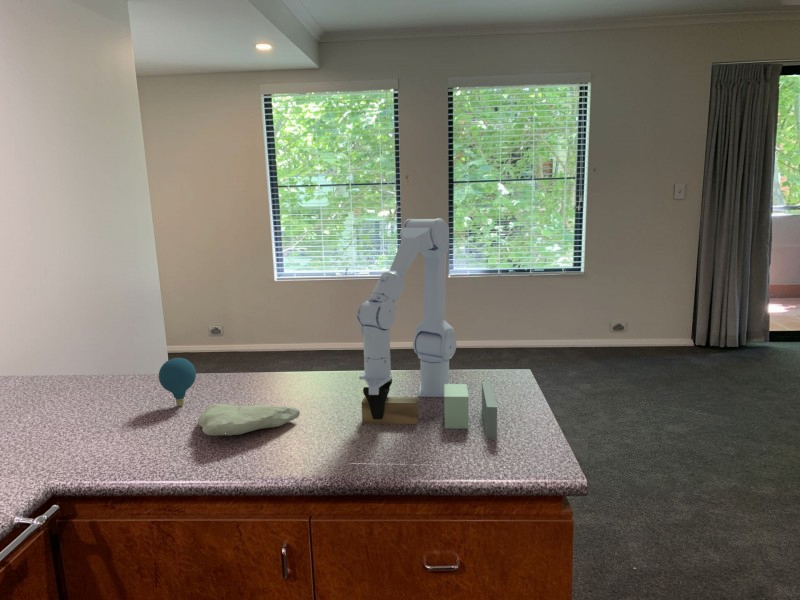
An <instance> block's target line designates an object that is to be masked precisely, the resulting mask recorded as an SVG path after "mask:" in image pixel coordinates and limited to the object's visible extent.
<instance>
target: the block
mask: <svg viewBox="0 0 800 600" xmlns="http://www.w3.org/2000/svg"><path fill="white" fill-rule="evenodd" d="M468 391H469V390H468V384H466V383H464V384H463V383H450V384H444V397H443V398H444V400H443V401H444V408H443V409H444V429H451V430H452V429H457V430H459V429H460V430H462V429H463V430H465V429H467V430H469V392H468Z"/></svg>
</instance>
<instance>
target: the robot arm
mask: <svg viewBox="0 0 800 600" xmlns="http://www.w3.org/2000/svg"><path fill="white" fill-rule="evenodd" d="M399 235H400V240H401V241H400V244H399V246H398V249H397V252H396V254H395V256H394V258H393V261H392V264H391V266H390V268H389V270H388V271H385V272H382V273H381V275H380V277H379V279H378V281H377V283H376V284H375V287H374V288H373V290H372V292H371V293H370V294H371V295H370V296H369V298H368V300H366V301H364V302H363V303H362V304H361V305H359V308H358V310H357V314H356V315H355V316H356V321H357V323H358V325H359V326H360V333H361V334H362V335H363V336H362V337H363V341H362V342H363V356H364V357H363V364H364V365H363V367H364V373H360V374H359V376H358V378H359V380H363V381H364V382H365V383H366V385H367V386H364V387H363V390H362V392H363V393H362V394H363V395H364V397H366V398H367V401H368V403H369V406H370V410H371V414H372V417H373V419H382V418H383V415H384V408H385V401H386V397H388V395H389V393H390V390H391V389H390V388H391V386H392V383H393V375H392V371H391V368H392V367H391V334H390V331H391V330H390V328H391V327H392V326H393V324H394V322H395V319H396V311H397V306H398V305H397V303H398V301H399V299H400V296H401V294H402V293H403V291H404V289H405V286H406V282H405V279H404V277H405V275H406V273H407V272H408V270H409V269H410V267H411V266H412V264H413V262H414V260H416V259H415V258H416V257H417V255H418V253H420V254H421V255H422V256H423V257H424V283H423V286H424V287H423V291H424V292H423V320H422V321H421V322H420V323H418V324H417V325H416V327H415V331H414V333H415V334H414V337H413V340H412V347H413V351H414V353H415V354H416V355H417V358H418V359H420V361H419V362H420V383H419V390H418V397H421V398H426V397H427V398H444V384H451V383H450V359H451V360H452V358H453V356H454V355H455V353H456V350H457V340H456V337H455V329H454V327H452V325H450V324H449V322H447V321H446V320H445V319H446V316H445V315H446V313H445V312H446V282H447V281H446V280H447V279H446V277H447V276H446V273H447V253H449V246H450V227H449V225H448V224H447V223H446V221H445V219H443V218H440V217H439V218H417V219H416V218H408V219H406V220H405V221H404V222H403V224H402V227H401V229H400V231H399Z"/></svg>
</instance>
